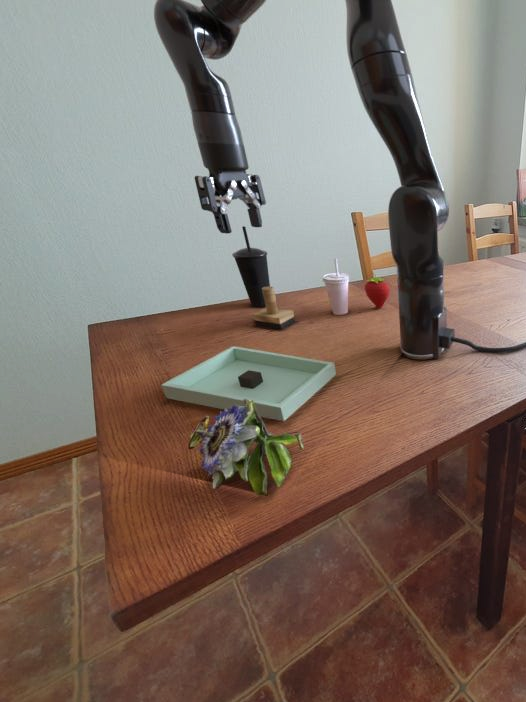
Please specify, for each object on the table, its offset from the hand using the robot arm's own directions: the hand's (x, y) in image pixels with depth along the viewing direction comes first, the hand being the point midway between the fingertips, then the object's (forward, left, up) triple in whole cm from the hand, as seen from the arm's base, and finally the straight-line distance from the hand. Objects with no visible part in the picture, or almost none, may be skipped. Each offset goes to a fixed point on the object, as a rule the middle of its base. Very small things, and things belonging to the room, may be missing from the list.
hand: (242, 229), depth 79 cm
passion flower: (-31, +40, -22) cm, 55 cm away
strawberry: (-20, -19, -22) cm, 35 cm away
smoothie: (-12, -13, -22) cm, 28 cm away
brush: (-2, -1, -22) cm, 22 cm away
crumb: (-17, +24, -21) cm, 36 cm away
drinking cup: (+10, -11, -22) cm, 26 cm away
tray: (-18, +24, -22) cm, 37 cm away
